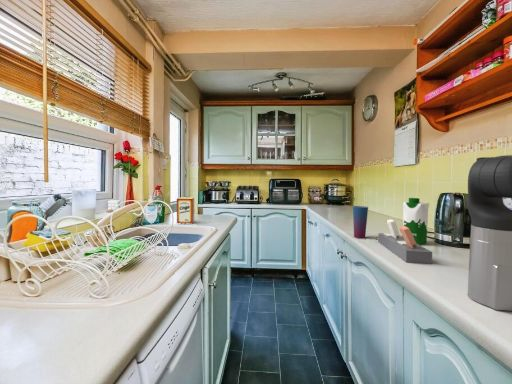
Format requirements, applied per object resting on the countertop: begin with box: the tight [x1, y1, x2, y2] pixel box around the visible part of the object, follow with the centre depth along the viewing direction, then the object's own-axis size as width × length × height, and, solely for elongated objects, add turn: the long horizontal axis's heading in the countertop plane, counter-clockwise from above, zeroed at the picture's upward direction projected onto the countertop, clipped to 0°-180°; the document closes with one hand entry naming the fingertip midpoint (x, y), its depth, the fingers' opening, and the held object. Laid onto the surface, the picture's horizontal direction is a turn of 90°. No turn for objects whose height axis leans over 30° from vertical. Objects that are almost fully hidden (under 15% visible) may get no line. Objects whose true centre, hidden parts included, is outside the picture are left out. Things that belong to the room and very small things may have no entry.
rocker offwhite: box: [386, 219, 401, 239], centre depth 102 cm, size 4×2×7 cm, turn 172°
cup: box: [352, 205, 369, 239], centre depth 121 cm, size 7×7×15 cm
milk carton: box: [402, 197, 430, 246], centre depth 111 cm, size 9×9×20 cm
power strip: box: [377, 232, 433, 265], centre depth 101 cm, size 35×8×4 cm, turn 172°
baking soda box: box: [176, 196, 195, 224], centre depth 157 cm, size 10×6×16 cm
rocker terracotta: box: [398, 225, 417, 248], centre depth 89 cm, size 4×2×7 cm, turn 172°
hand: (478, 161), depth 78 cm, fingers closed
